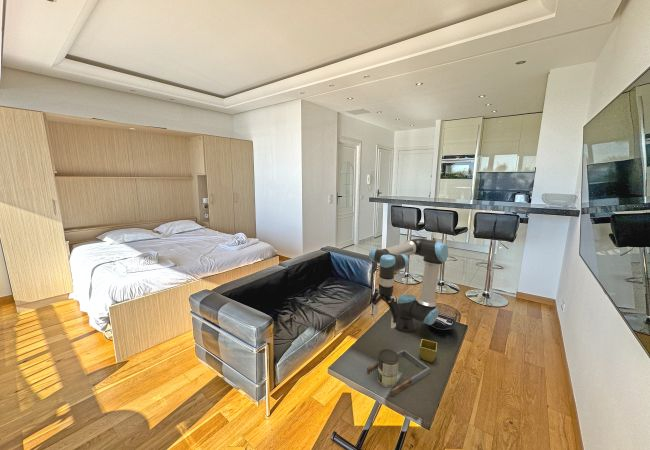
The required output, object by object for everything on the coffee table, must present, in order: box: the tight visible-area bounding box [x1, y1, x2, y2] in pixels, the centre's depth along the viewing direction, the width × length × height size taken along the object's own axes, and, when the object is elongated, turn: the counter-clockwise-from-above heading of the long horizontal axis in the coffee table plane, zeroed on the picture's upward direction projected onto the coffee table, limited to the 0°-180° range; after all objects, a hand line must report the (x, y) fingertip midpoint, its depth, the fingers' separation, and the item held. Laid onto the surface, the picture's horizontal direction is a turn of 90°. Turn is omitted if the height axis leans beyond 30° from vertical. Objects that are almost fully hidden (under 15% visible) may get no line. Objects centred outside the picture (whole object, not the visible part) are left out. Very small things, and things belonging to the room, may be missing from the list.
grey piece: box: [396, 349, 431, 386], centre depth 143 cm, size 15×18×3 cm
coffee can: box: [376, 348, 400, 388], centre depth 134 cm, size 10×10×14 cm
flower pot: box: [419, 338, 438, 363], centre depth 151 cm, size 9×9×9 cm
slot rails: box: [366, 362, 412, 397], centre depth 136 cm, size 14×18×3 cm
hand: (384, 321), depth 139 cm, fingers open, 13 cm apart
